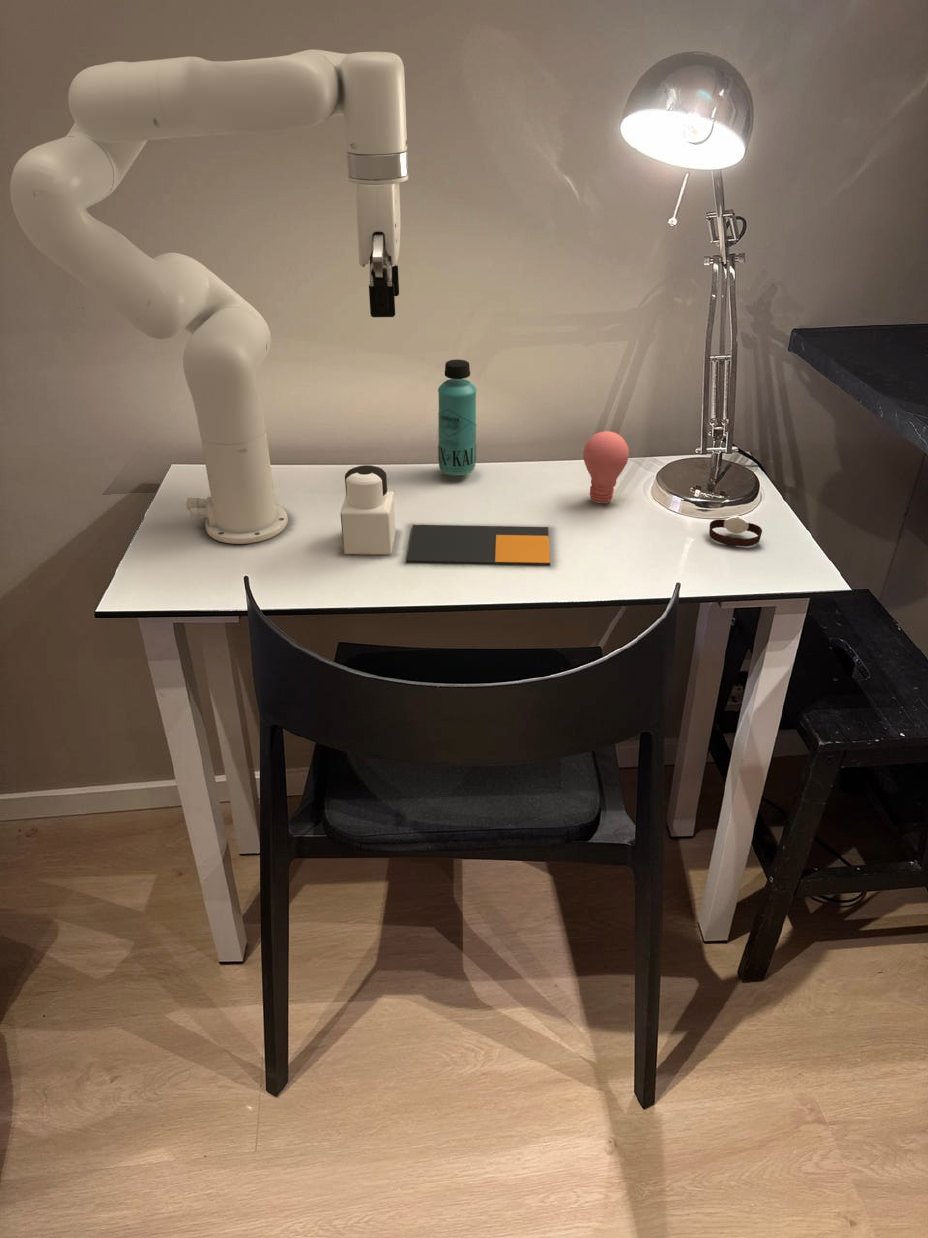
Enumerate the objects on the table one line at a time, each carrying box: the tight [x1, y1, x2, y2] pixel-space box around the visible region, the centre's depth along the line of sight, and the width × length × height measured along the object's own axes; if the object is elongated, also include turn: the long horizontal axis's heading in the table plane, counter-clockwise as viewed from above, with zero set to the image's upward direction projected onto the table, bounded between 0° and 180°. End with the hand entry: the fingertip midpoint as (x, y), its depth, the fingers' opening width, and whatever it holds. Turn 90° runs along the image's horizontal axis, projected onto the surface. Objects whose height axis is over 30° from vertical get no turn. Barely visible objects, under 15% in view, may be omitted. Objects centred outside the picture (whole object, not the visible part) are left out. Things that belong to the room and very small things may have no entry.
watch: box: [708, 515, 763, 548], centre depth 144 cm, size 8×5×4 cm, turn 72°
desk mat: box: [405, 524, 551, 566], centre depth 144 cm, size 21×11×1 cm, turn 87°
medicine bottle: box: [339, 464, 397, 556], centre depth 141 cm, size 7×7×12 cm
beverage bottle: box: [437, 358, 478, 476], centre depth 158 cm, size 6×7×20 cm
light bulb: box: [582, 430, 630, 504], centre depth 152 cm, size 7×7×12 cm
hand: (385, 305), depth 129 cm, fingers open, 9 cm apart
